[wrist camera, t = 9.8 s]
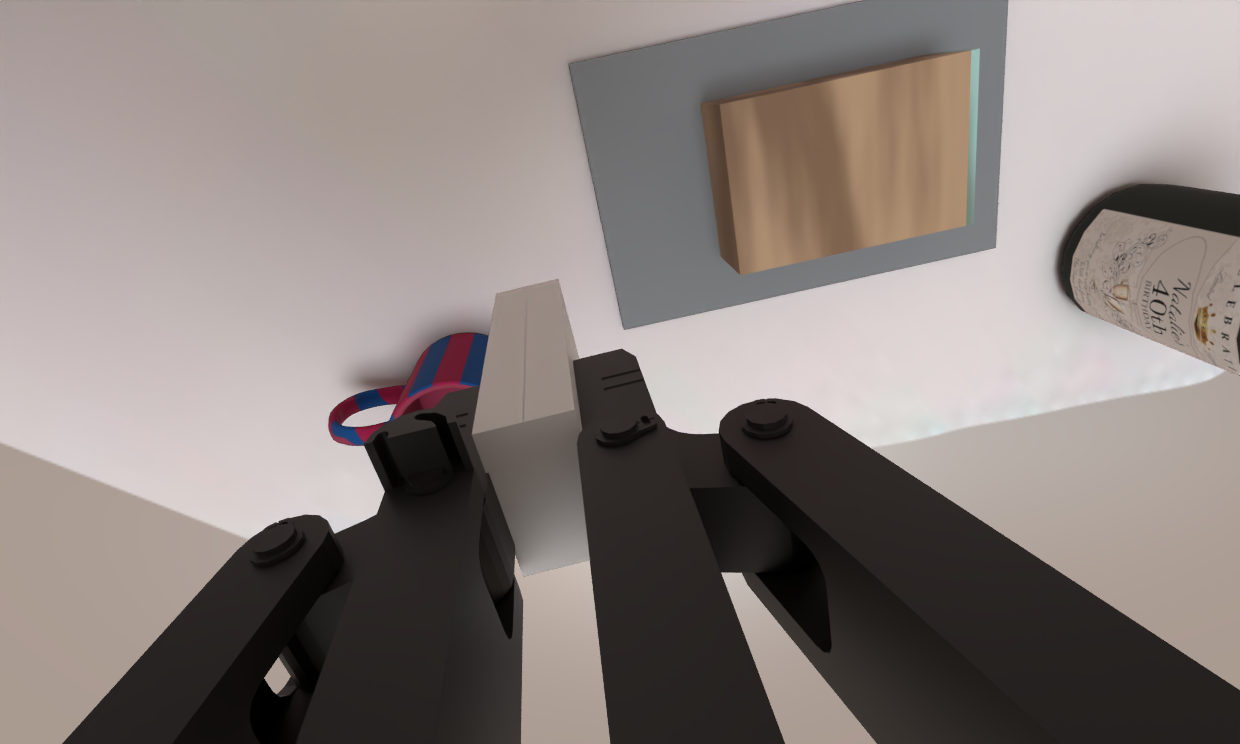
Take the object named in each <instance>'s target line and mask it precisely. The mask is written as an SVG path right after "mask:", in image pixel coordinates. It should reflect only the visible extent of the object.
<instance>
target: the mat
mask: <svg viewBox="0 0 1240 744" xmlns="http://www.w3.org/2000/svg"><path fill="white" fill-rule="evenodd" d="M1007 15H1008V0H865V1H860V2H855V3H851V4H846V5H841V6H837V7H832V8H827V9H823V10H818V11H813V12H809V13H804V14H799V15H795V16H790V17H785V18H781V19H776V20H771V21H767V22H762V23H757V24H753V25H748V26H744V27H739V28H734V29H730V30H725V31H720V32H716V33H711V34H706V35H702V36H697V37H692V38H688V39H683V40H678V41H674V42H669V43H664V44H660V45H655V46H650V47H646V48H641V49H636V50H632V51H627V52H622V53H618V54H613V55H609V56H604V57H599V58H595V59H590V60H585V61H581V62H576V63H571V64H569V67H570V72H571V77H572V82H573V87H574V92H575V96H576V101H577V106H578V111H579V116H580V121H581V125H582V130H583V135H584V140H585V145H586V150H587V154H588V159H589V164H590V169H591V174H592V179H593V184H594V188H595V193H596V198H597V203H598V208H599V213H600V217H601V222H602V227H603V232H604V237H605V242H606V247H607V251H608V256H609V261H610V266H611V271H612V276H613V280H614V285H615V290H616V295H617V300H618V305H619V309H620V314H621V319H622V324H623V328H624V330H626V329H631V328H636V327H640V326H645V325H649V324H654V323H658V322H663V321H667V320H672V319H676V318H681V317H685V316H690V315H694V314H699V313H703V312H708V311H712V310H717V309H722V308H726V307H731V306H735V305H740V304H744V303H749V302H753V301H758V300H762V299H767V298H771V297H776V296H780V295H785V294H789V293H794V292H798V291H803V290H808V289H812V288H817V287H821V286H826V285H830V284H835V283H839V282H844V281H848V280H853V279H857V278H862V277H866V276H871V275H875V274H880V273H884V272H889V271H894V270H898V269H903V268H907V267H912V266H916V265H921V264H925V263H930V262H934V261H939V260H943V259H948V258H952V257H957V256H961V255H966V254H970V253H975V252H980V251H984V250H989V249H993V248H996V233H997V214H998V194H999V174H1000V154H1001V134H1002V114H1003V94H1004V75H1005V55H1006V35H1007ZM970 49H980V61H979V89H978V118H977V146H976V174H975V202H974V224H972V225H967V226H963V227H958V228H954V229H949V230H945V231H940V232H936V233H931V234H927V235H922V236H917V237H913V238H908V239H904V240H899V241H895V242H890V243H886V244H881V245H877V246H872V247H867V248H863V249H858V250H854V251H849V252H845V253H840V254H836V255H831V256H827V257H822V258H818V259H813V260H808V261H804V262H799V263H795V264H790V265H786V266H781V267H777V268H772V269H768V270H763V271H759V272H754V273H749V274H745V275H739V274H738V273H737V272H736V271H735V270H734V269H733V268H732V267H731V266H730V265H729V264H728V263H727V262H726V261H725V260H724V259H723V258H721V255H720V247H719V240H718V232H717V225H716V217H715V210H714V202H713V194H712V187H711V179H710V172H709V164H708V157H707V149H706V141H705V134H704V126H703V119H702V111H701V103H705V102H710V101H714V100H719V99H723V98H728V97H733V96H737V95H742V94H747V93H751V92H756V91H760V90H765V89H770V88H774V87H779V86H784V85H788V84H793V83H797V82H802V81H807V80H811V79H816V78H821V77H825V76H830V75H834V74H839V73H844V72H848V71H853V70H858V69H862V68H867V67H871V66H876V65H881V64H885V63H890V62H895V61H899V60H904V59H908V58H913V57H918V56H922V55H927V54H932V53H941V52H951V51H960V50H970Z"/></svg>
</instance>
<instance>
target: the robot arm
mask: <svg viewBox="0 0 1240 744" xmlns="http://www.w3.org/2000/svg"><path fill="white" fill-rule="evenodd" d="M364 446H365V449H366V451H367V453H368V455H369V457H370V460H371V462H372V464H373V466H374V468H375V471H376V473H377V475H378V477H379V479H380V482H381V484H382V486H383V488H384V490H385V493H384V496H383V498H382V501H381V504H380V507H379V510H378V513H377V515H375V516H373V517H371V518H369V519H367V520H365V521H363V522H360V523H358V524H356V525H354V526H351V527H349V528H347V529H344V530H342V531H340V532H338V533H335V534H334V532H333V531H332V529H331V527H330V525H329V523H328V521H327V520H326V519H324V518H322V517H321V516H319V515H302V516H297V517H293V518H287V519H284V520H281V521H279V523H277V522H276V523H274V524H272V525H269V526H268V527H266V528H265V529H264V530H263V531H261V532H260V533H258V534H257V535H255V536H253V537H252V538H251V539H249V540H248V541H247V542H246V543H245V544H244V545H243V546H242V547H240V548H239V549H238V550H237V551H236V552H235V553H234V554H233V555H232V557H231V558H230V559H229V560H228V561H227V562H226V563H225V564H224V566H223V567H222V568H221V569H220V570H219V571H218V572H217V573H216V574H215V575H214V576H213V578H212V579H211V580H210V581H209V582H208V583H207V584H206V585H205V587H204V588H203V589H202V590H201V591H200V592H199V593H198V594H197V595H196V596H195V598H194V599H193V600H192V601H191V602H190V603H189V604H188V605H187V606H186V607H185V609H184V610H183V611H182V612H181V613H180V614H179V615H178V616H177V617H176V619H175V620H174V621H173V622H172V623H171V624H170V625H169V626H168V627H167V628H166V630H165V631H164V632H163V633H162V634H161V635H160V636H159V637H158V638H157V640H156V641H155V642H154V643H153V644H152V645H151V646H150V647H149V648H148V650H147V651H146V652H145V653H144V654H143V655H142V656H141V657H140V659H138V661H137V662H136V663H135V664H134V665H133V666H132V667H131V668H130V669H129V671H128V672H127V673H126V674H125V675H124V676H123V677H122V678H121V679H120V681H119V682H118V683H117V684H116V685H115V686H114V687H113V688H112V689H111V690H110V692H109V693H108V694H107V695H106V696H105V697H104V698H103V699H102V700H101V701H100V703H99V704H98V705H97V706H96V707H95V708H94V709H93V710H92V712H91V713H90V714H89V715H88V716H87V717H86V718H85V719H84V721H82V722H81V724H80V725H79V726H78V727H77V728H76V729H75V730H74V731H73V732H72V734H71V735H70V736H69V737H68V738H67V739H66V740H65V741H64V742H63V744H521V696H522V695H521V693H522V632H523V599H522V595H521V592H520V589H519V586H518V583H517V580H516V578H515V575H514V564H515V555H516V558H517V560H518V563H519V566H520V569H521V571H522V574H523V576H524V577H525V576H529V575H533V574H536V573H540V572H545V571H549V570H553V569H557V568H561V567H565V566H568V565H573V564H577V563H581V562H585V561H589V560H590V566H591V575H592V584H593V593H594V602H595V610H596V619H597V628H598V637H599V646H600V655H601V664H602V673H603V681H604V690H605V699H606V708H607V717H608V725H609V735H610V743H611V744H785V742H784V740H783V737H782V734H781V732H780V729H779V726H778V724H777V721H776V719H775V716H774V713H773V710H772V708H771V705H770V702H769V700H768V697H767V694H766V692H765V689H764V686H763V684H762V681H761V678H760V676H759V673H758V670H757V668H756V665H755V662H754V660H753V657H752V654H751V651H750V649H749V646H748V644H747V641H746V638H745V635H744V633H743V631H742V628H741V625H740V622H739V619H738V617H737V614H736V611H735V609H734V606H733V604H732V601H731V598H730V595H729V593H728V590H727V587H726V585H725V582H724V579H723V577H722V574H721V572H734V573H735V572H736V573H742V574H743V576H744V578H745V580H746V582H747V584H748V586H749V587H750V588H751V590H752V591H753V592H754V593H755V594H756V596H757V597H758V598H759V599H760V601H761V602H762V603H763V604H764V606H765V607H766V608H767V609H768V610H769V612H770V613H771V614H772V615H773V617H775V619H776V620H777V621H778V623H779V624H780V625H781V626H782V628H783V629H784V630H785V631H786V633H787V634H788V635H789V636H790V637H791V639H792V640H793V641H794V642H795V643H796V645H797V646H798V647H799V648H800V650H801V651H802V652H803V653H804V655H806V657H807V658H808V660H809V661H810V662H811V663H812V664H813V665H814V667H815V668H816V669H817V671H818V672H819V673H820V674H821V675H822V677H823V678H824V679H825V680H826V682H827V683H828V684H829V685H830V686H831V688H832V689H833V690H834V691H835V693H836V694H837V695H838V696H839V697H840V698H841V700H842V701H843V702H844V704H845V705H846V706H847V707H848V709H849V710H850V711H851V712H852V713H853V715H854V716H855V717H856V718H857V720H858V721H859V722H860V723H861V724H862V726H863V727H864V728H865V729H866V730H867V732H868V733H869V734H870V735H871V737H872V738H873V739H874V740H875V742H876V743H877V744H1240V690H1239V689H1237V688H1236V687H1234V686H1233V685H1231V684H1229V683H1228V682H1226V681H1225V680H1223V679H1222V678H1220V677H1219V676H1217V675H1216V674H1214V673H1213V672H1211V671H1210V670H1208V669H1206V668H1205V667H1204V666H1202V665H1200V664H1199V663H1197V662H1196V661H1194V660H1193V659H1191V658H1190V657H1188V656H1187V655H1185V654H1184V653H1182V652H1181V651H1179V650H1178V649H1176V648H1175V647H1173V646H1172V645H1170V644H1168V643H1167V642H1165V641H1164V640H1162V639H1161V638H1159V637H1158V636H1156V635H1155V634H1153V633H1152V632H1150V631H1148V630H1147V629H1146V628H1144V627H1143V626H1141V625H1139V624H1138V623H1136V622H1135V621H1133V620H1132V619H1130V618H1129V617H1127V616H1126V615H1124V614H1123V613H1121V612H1119V611H1118V610H1117V609H1115V608H1114V607H1112V606H1110V605H1109V604H1108V603H1106V602H1104V601H1103V600H1101V599H1100V598H1098V597H1097V596H1095V595H1093V594H1092V593H1091V592H1089V591H1088V590H1086V589H1085V588H1083V587H1082V586H1080V585H1079V584H1077V583H1075V582H1074V581H1072V580H1071V579H1069V578H1068V577H1066V576H1065V575H1063V574H1062V573H1060V572H1059V571H1057V570H1056V569H1054V568H1053V567H1051V566H1050V565H1048V564H1046V563H1045V562H1043V561H1042V560H1040V559H1039V558H1037V557H1036V556H1034V555H1033V554H1031V553H1030V552H1028V551H1027V550H1025V549H1024V548H1022V547H1021V546H1019V545H1018V544H1016V543H1015V542H1013V541H1011V540H1010V539H1008V538H1007V537H1005V536H1004V535H1002V534H1001V533H999V532H998V531H996V530H994V529H993V528H992V527H990V526H989V525H987V524H985V523H984V522H983V521H981V520H979V519H978V518H976V517H975V516H973V515H972V514H970V513H969V512H967V511H966V510H964V509H963V508H961V507H960V506H958V505H956V504H955V503H954V502H952V501H951V500H949V499H947V498H946V497H944V496H943V495H941V494H940V493H938V492H936V491H935V490H934V489H932V488H931V487H929V486H928V485H926V484H924V483H923V482H922V481H920V480H918V479H917V478H915V477H914V476H912V475H911V474H909V473H908V472H906V471H905V470H903V469H902V468H900V467H899V466H897V465H896V464H894V463H893V462H891V461H889V460H888V459H886V458H885V457H883V456H882V455H880V454H879V453H877V452H875V451H874V450H873V449H871V448H870V447H868V446H867V445H865V444H864V443H862V442H861V441H859V440H858V439H856V438H854V437H853V436H851V435H850V434H848V433H847V432H845V431H844V430H842V429H841V428H839V427H838V426H836V425H835V424H833V423H832V422H830V421H829V420H827V419H826V418H824V417H822V416H821V415H819V414H818V413H816V412H815V411H813V410H812V409H810V408H809V407H807V406H804V405H802V404H800V403H797V402H795V401H790V400H782V399H776V398H774V399H766V400H765V399H760V400H755V401H753V402H750V403H746V404H742V405H740V406H738V407H737V408H735V409H733V410H731V411H729V412H728V413H727V414H726V415H725V417H724V418H723V419H722V420H721V421H720V427H719V434H687V433H681V432H677V431H675V430H672V429H669V428H668V427H666V425H665V422H664V421H663V420H662V418H661V417H660V416H659V415H658V414H657V413H656V411H655V408H654V405H653V402H652V400H651V397H650V394H649V391H648V389H647V386H646V383H645V381H644V378H643V375H642V372H641V370H640V367H639V364H638V361H637V359H636V356H634V355H632V354H630V353H628V352H627V351H625V350H623V349H619V350H614V351H610V352H606V353H602V354H598V355H594V356H590V357H586V358H582V359H579V356H578V353H577V349H576V345H575V341H574V337H573V333H572V330H571V326H570V322H569V318H568V314H567V311H566V307H565V303H564V299H563V295H562V291H561V288H560V284H559V280H558V279H555V280H551V281H547V282H543V283H539V284H535V285H530V286H526V287H522V288H518V289H514V290H510V291H505V292H501V293H497V294H496V297H495V303H494V309H493V314H492V320H491V326H490V332H489V338H488V343H487V349H486V355H485V361H484V366H483V372H482V378H481V384H480V385H479V386H475V387H470V388H466V389H462V390H458V391H454V392H450V393H447V394H446V395H445V396H444V397H443V398H442V399H441V400H440V401H439V403H438V404H437V405H436V406H435V407H434V408H431V409H424V410H418V411H415V412H412V413H409V414H406V415H402V416H400V417H398V418H396V419H394V420H392V421H390V422H388V423H386V424H384V425H383V426H381V427H380V428H379V429H377V430H376V431H375V432H373V433H372V434H371V435H370V436H369V438H368V439H367V440H366V442H365V443H364ZM278 657H279V658H280V660H281V661H282V663H283V665H284V666H285V668H286V669H287V671H288V673H289V674H290V676H291V677H290V679H289V681H288V682H287V684H286V685H285V687H284V688H283V689H282V690H281V691H280V692H279V693H278V694H275V693H274V692H273V691H272V690H271V688H270V687H269V686H268V684H267V682H266V681H265V679H264V677H265V676H266V674H267V673H268V671H269V670H270V668H271V667H272V665H273V664H274V663H275V661H276V660H277V658H278Z"/></svg>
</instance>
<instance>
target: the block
mask: <svg viewBox="0 0 1240 744" xmlns="http://www.w3.org/2000/svg"><path fill="white" fill-rule="evenodd" d="M979 61H980V49H970V50H960V51H951V52H941V53H932V54H927V55H922V56H918V57H913V58H908V59H904V60H899V61H895V62H890V63H885V64H881V65H876V66H871V67H867V68H862V69H858V70H853V71H848V72H844V73H839V74H834V75H830V76H825V77H821V78H816V79H811V80H807V81H802V82H797V83H793V84H788V85H784V86H779V87H774V88H770V89H765V90H760V91H756V92H751V93H747V94H742V95H737V96H733V97H728V98H723V99H719V100H714V101H710V102H705V103H701V111H702V119H703V126H704V134H705V141H706V149H707V157H708V164H709V172H710V179H711V187H712V194H713V202H714V210H715V217H716V225H717V232H718V240H719V247H720V255H721V258H723V259H724V260H725V261H726V262H727V263H728V264H729V265H730V266H731V267H732V268H733V269H734V270H735V271H736V272H737V273H738V274H739V275H745V274H749V273H754V272H759V271H763V270H768V269H772V268H777V267H781V266H786V265H790V264H795V263H799V262H804V261H808V260H813V259H818V258H822V257H827V256H831V255H836V254H840V253H845V252H849V251H854V250H858V249H863V248H867V247H872V246H877V245H881V244H886V243H890V242H895V241H899V240H904V239H908V238H913V237H917V236H922V235H927V234H931V233H936V232H940V231H945V230H949V229H954V228H958V227H963V226H967V225H972V224H974V202H975V174H976V146H977V118H978V89H979Z"/></svg>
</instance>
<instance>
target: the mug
mask: <svg viewBox="0 0 1240 744" xmlns="http://www.w3.org/2000/svg"><path fill="white" fill-rule="evenodd" d="M488 338H489V336H486V335H482V334H476V333H459V334H454V335H450V336H447V337H445V338H442V339H440V340H438V341H437V342H435V343H434V344H432V345H431V346H430V347H429V348H428V349H427V350H425V351H424V353H423V354H422V355H421V357H420V358H419V360H418V362H417V364H416V366H415V368H414V370H413V372H412V374H411V376H410V378H409V380H408V382H407V384H406V385H403V386H393V387H386V388H379V389H374V390H369V391H365V392H362V393H359V394H356V395H354V396H351V397H349V398H347V399H346V400H344V401H343V402H341V403H339V404H338V405H337V406H336V407H335V408H334V409H333V410H332V412H331V413H330V416H329V423H328V427H329V432H330V434H331V437H332V438H333V440H335V441H336V442H338V443H341V444H345V445H351V446H364V443H365V442H366V440H367V439H368V438H369V436H370V435H371V434H372V433H373V432H375V431H376V430H377V429H379V428H380V427H381V426H383V425H384V424H386V423H388V422H390V421H392V420H394V419H396V418H398V417H400V416H402V415H406V414H409V413H412V412H415V411H418V410H424V409H431V408H434V407H435V406H436V405H437V404H438V403H439V401H440V400H441V399H442V398H443V397H444V396H445V395H446V394H447V393H450V392H454V391H458V390H462V389H466V388H470V387H475V386H479V385H480V384H481V378H482V372H483V366H484V361H485V355H486V349H487V343H488ZM391 404H397V405H396V407H395V409H394V411H393V413H392V415H391V418H390V420H389V421H387V422H383V423H380V424H376V425H371V426H364V427H346V426H342V425H341V424H342V423H343V422H344V421H345V420H346V419H347V418H348V417H349V416H351V415H353V414H355V413H357V412H359V411H362V410H365V409H368V408H372V407H377V406H383V405H391Z"/></svg>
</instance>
